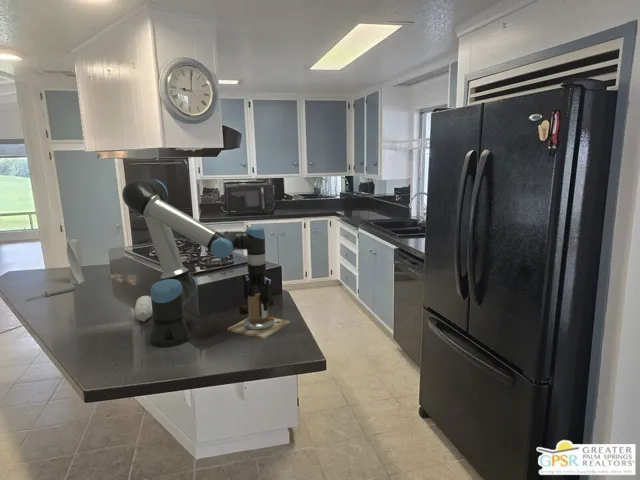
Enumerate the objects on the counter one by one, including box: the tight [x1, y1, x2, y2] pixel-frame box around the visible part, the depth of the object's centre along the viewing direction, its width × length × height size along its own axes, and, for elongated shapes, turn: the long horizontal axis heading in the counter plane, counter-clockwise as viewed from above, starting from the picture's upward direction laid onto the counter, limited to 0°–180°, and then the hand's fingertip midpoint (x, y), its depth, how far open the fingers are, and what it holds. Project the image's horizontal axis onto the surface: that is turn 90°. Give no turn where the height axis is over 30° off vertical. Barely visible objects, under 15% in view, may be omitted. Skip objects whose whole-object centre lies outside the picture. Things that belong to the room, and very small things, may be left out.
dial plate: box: [226, 317, 291, 340], centre depth 184 cm, size 19×19×1 cm
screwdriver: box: [25, 283, 76, 301], centre depth 233 cm, size 5×25×4 cm, turn 143°
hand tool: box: [238, 298, 274, 315], centre depth 206 cm, size 19×4×5 cm, turn 131°
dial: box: [244, 292, 275, 330], centre depth 183 cm, size 13×13×14 cm
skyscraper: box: [66, 236, 86, 285], centre depth 256 cm, size 8×8×28 cm
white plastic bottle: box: [133, 295, 153, 323], centre depth 196 cm, size 8×19×8 cm, turn 18°
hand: (258, 316), depth 183 cm, fingers closed on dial, 5 cm apart
